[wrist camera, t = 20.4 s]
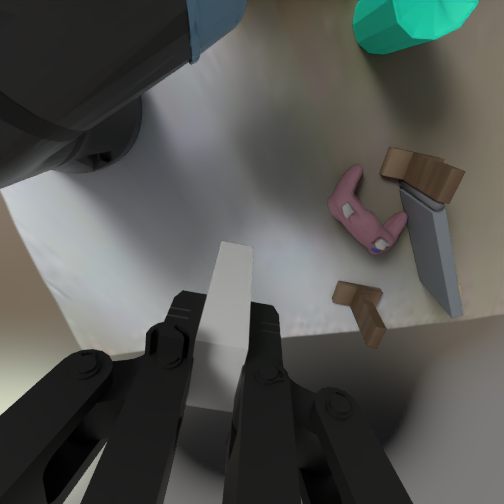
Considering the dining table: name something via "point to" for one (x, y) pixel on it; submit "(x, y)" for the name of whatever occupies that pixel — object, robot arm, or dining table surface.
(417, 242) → the door
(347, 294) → the brown bent pieces
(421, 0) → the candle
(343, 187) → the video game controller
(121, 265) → the dining table surface
